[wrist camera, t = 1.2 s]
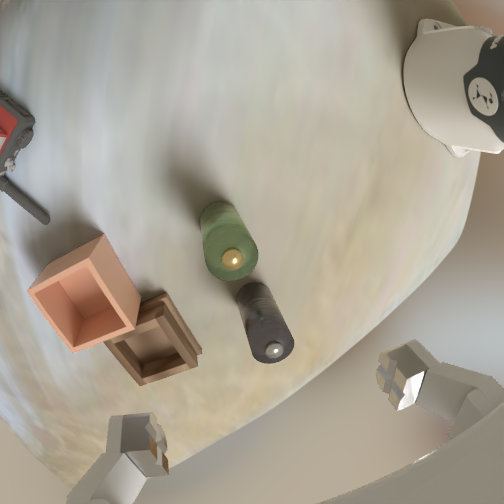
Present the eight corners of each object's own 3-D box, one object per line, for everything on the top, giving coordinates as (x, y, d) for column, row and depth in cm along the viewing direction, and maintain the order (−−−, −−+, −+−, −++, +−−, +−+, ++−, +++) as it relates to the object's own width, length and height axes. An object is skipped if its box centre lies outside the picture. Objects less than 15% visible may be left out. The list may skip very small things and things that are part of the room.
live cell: (230, 195, 31) (248, 225, 22) (245, 230, 33) (267, 271, 24) (193, 211, 31) (196, 248, 22) (209, 245, 33) (218, 292, 24)
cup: (104, 233, 30) (88, 257, 24) (141, 296, 33) (135, 329, 28) (47, 264, 30) (26, 290, 24) (85, 320, 33) (72, 353, 28)
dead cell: (264, 276, 35) (289, 327, 27) (275, 303, 37) (300, 356, 28) (231, 291, 35) (246, 345, 27) (244, 317, 37) (261, 373, 28)
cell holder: (166, 292, 34) (165, 309, 31) (201, 348, 38) (203, 367, 34) (101, 319, 33) (95, 338, 30) (140, 370, 37) (138, 389, 34)
